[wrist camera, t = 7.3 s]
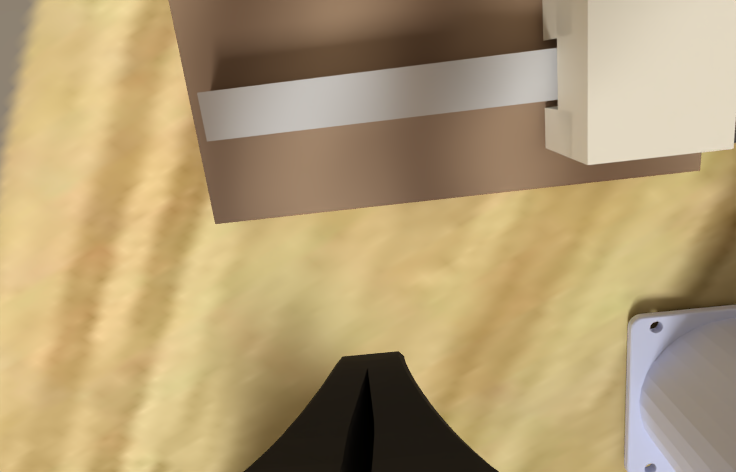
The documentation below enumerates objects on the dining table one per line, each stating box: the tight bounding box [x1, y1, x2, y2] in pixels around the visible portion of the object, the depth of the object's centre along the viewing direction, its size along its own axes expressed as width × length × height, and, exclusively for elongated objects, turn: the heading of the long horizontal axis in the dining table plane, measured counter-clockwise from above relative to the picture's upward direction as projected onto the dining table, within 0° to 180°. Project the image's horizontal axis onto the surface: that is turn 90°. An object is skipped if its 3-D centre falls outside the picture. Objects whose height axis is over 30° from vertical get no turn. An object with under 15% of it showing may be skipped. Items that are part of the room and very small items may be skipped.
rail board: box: [169, 0, 736, 224], centre depth 17 cm, size 18×8×4 cm, turn 97°
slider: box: [542, 0, 736, 165], centre depth 16 cm, size 4×5×4 cm
